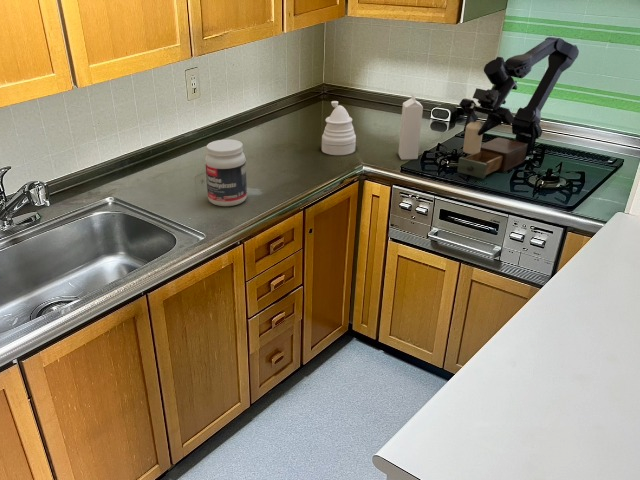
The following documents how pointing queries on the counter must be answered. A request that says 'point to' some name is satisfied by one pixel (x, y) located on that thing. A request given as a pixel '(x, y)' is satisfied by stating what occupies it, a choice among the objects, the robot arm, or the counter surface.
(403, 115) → the milk
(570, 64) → the robot arm
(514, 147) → the cabinet
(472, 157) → the drawer
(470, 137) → the candle
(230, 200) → the supplement tub
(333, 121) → the honey pot
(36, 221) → the counter surface
